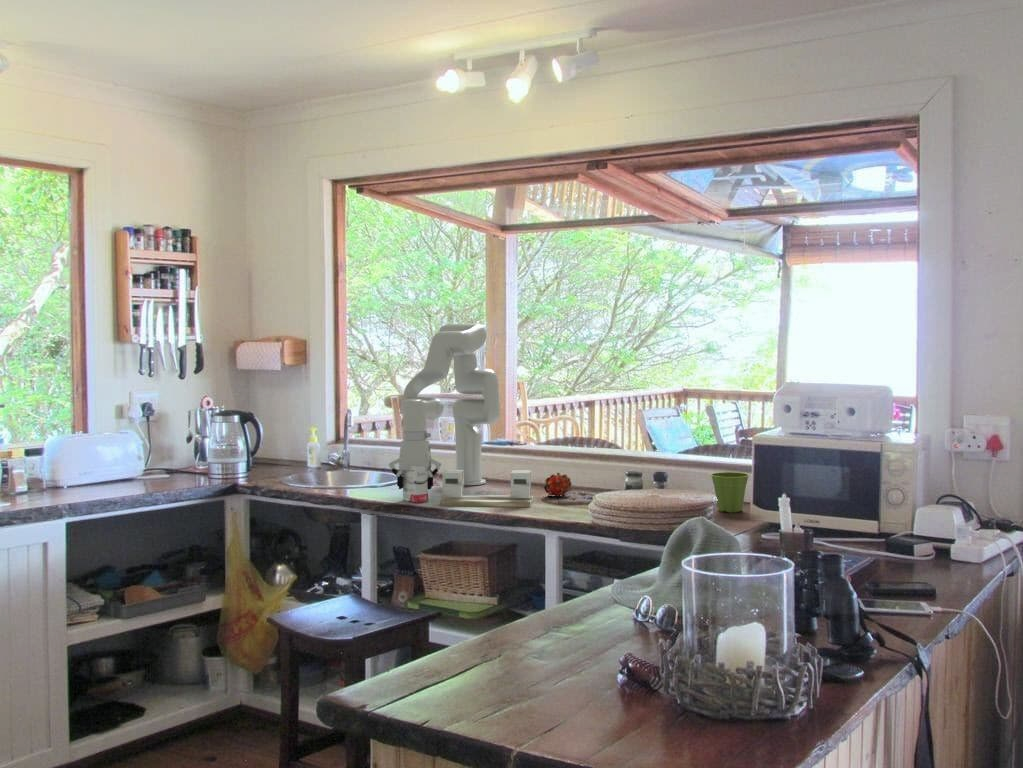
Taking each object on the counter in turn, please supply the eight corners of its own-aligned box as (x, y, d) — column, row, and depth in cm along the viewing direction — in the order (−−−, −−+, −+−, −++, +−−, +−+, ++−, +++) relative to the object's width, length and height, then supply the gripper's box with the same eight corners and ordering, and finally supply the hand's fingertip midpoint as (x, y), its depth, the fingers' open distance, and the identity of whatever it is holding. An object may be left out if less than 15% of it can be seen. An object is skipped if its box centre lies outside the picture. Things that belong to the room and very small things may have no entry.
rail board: (445, 499, 319) (445, 468, 318) (533, 500, 316) (533, 469, 316) (439, 505, 307) (439, 473, 306) (530, 506, 304) (530, 474, 304)
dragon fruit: (572, 499, 329) (548, 508, 321) (556, 482, 333) (532, 491, 325) (581, 481, 324) (557, 490, 316) (565, 464, 328) (540, 473, 320)
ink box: (429, 501, 315) (428, 465, 315) (416, 503, 312) (415, 467, 311) (414, 498, 322) (414, 463, 321) (402, 500, 319) (401, 464, 318)
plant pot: (731, 506, 303) (731, 470, 303) (757, 512, 293) (758, 475, 292) (701, 509, 298) (702, 473, 297) (727, 515, 287) (727, 477, 287)
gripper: (442, 435, 319) (443, 487, 319) (391, 435, 320) (391, 486, 321) (439, 437, 311) (439, 490, 312) (386, 437, 313) (386, 490, 314)
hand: (415, 488), depth 316 cm, fingers closed on ink box, 9 cm apart
